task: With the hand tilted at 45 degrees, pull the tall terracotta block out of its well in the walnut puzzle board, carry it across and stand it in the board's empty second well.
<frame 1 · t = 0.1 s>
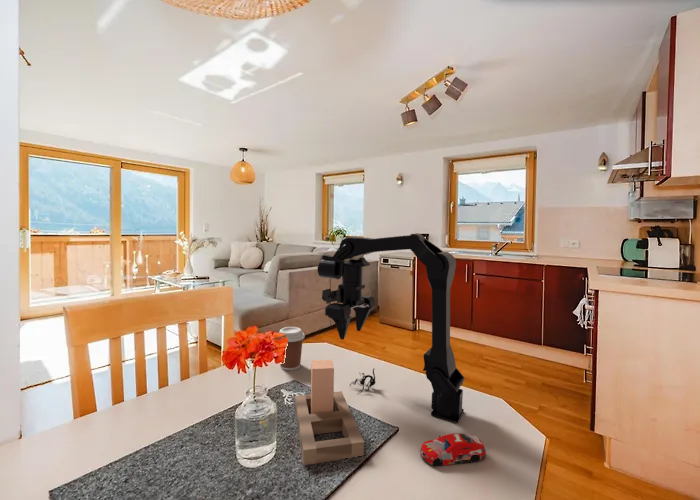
hand: (350, 334, 97), 15 cm above the table, tool pointing down, fingers open, 9 cm apart
block: (321, 416, 81), resting in puzzle board
creature: (362, 389, 96), on the table
puzzle board: (325, 429, 76), on the table
coffee cup: (290, 366, 110), on the table
race car: (451, 458, 68), on the table
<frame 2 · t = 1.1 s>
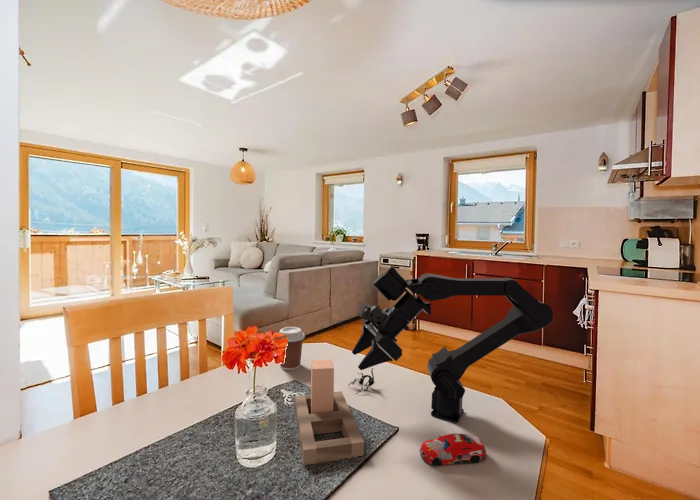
hand: (356, 360, 81), 13 cm above the table, tool tilted 45°, fingers open, 9 cm apart
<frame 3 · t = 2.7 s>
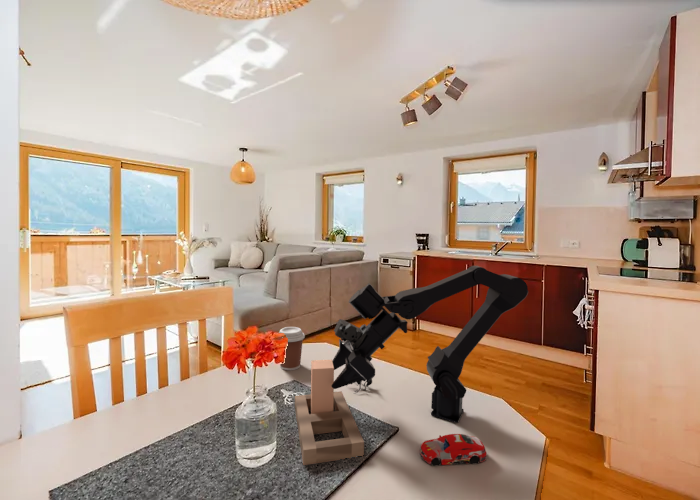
hand: (330, 378, 80), 9 cm above the table, tool tilted 45°, fingers open, 9 cm apart
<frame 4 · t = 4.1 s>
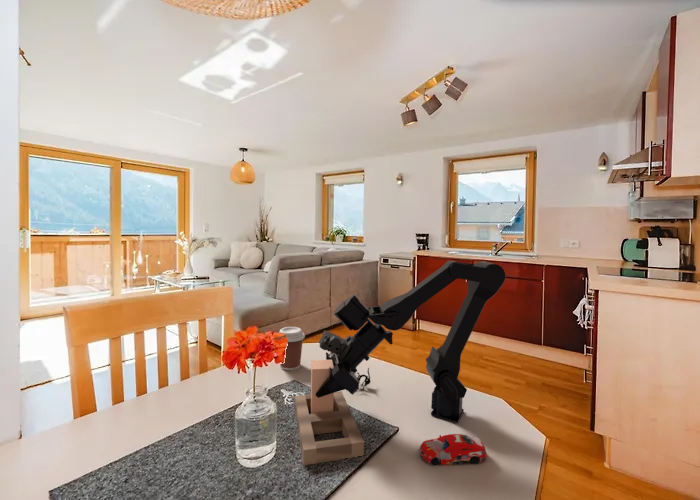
hand: (316, 390, 80), 7 cm above the table, tool tilted 45°, fingers closed on block, 5 cm apart
block: (321, 416, 81), resting in puzzle board, touching gripper
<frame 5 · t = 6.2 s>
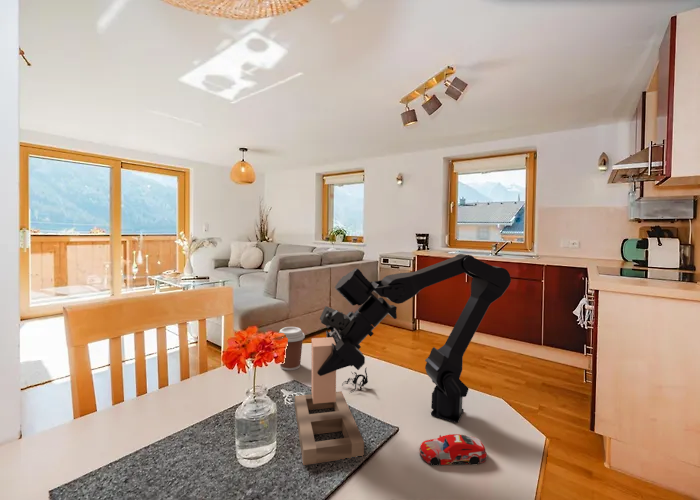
hand: (317, 369, 76), 13 cm above the table, tool tilted 45°, fingers closed on block, 5 cm apart
block: (323, 396, 77), point 7 cm above the table, touching gripper
when the fingers open (8 cm above the table, at t = 8.3 s): block drops 1 cm, resting in puzzle board.
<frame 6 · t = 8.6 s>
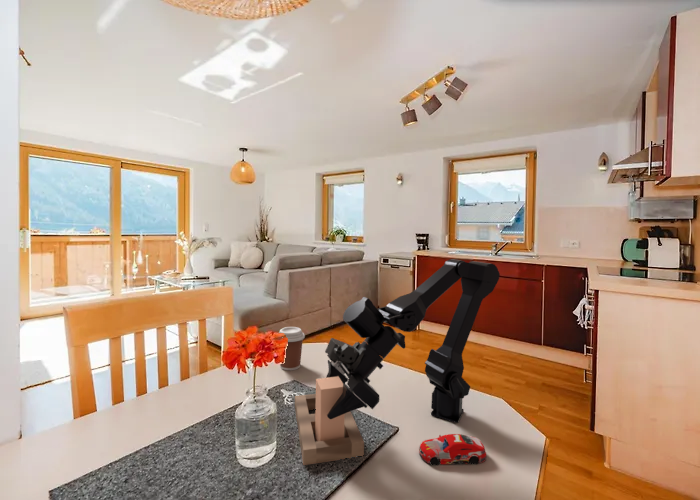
hand: (323, 407, 70), 8 cm above the table, tool tilted 45°, fingers open, 8 cm apart
block: (329, 442, 71), resting in puzzle board
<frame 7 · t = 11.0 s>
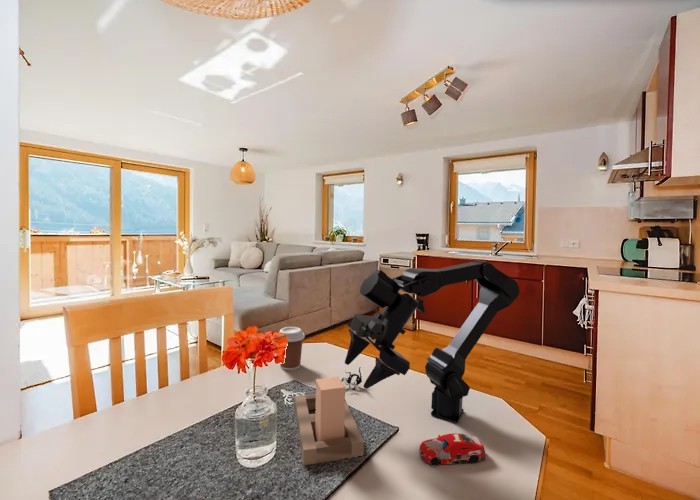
hand: (355, 375, 75), 12 cm above the table, tool tilted 35°, fingers open, 9 cm apart
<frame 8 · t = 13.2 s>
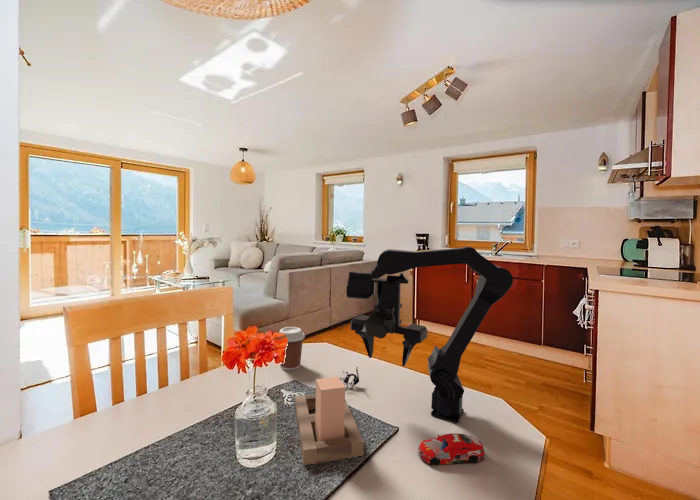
hand: (386, 361, 84), 12 cm above the table, tool pointing down, fingers open, 9 cm apart
at the end: block 0.0 cm from the target spot on the puzzle board, point 0.0 cm above the puzzle board's base; block tilted 0°; the gripper is holding nothing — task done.
